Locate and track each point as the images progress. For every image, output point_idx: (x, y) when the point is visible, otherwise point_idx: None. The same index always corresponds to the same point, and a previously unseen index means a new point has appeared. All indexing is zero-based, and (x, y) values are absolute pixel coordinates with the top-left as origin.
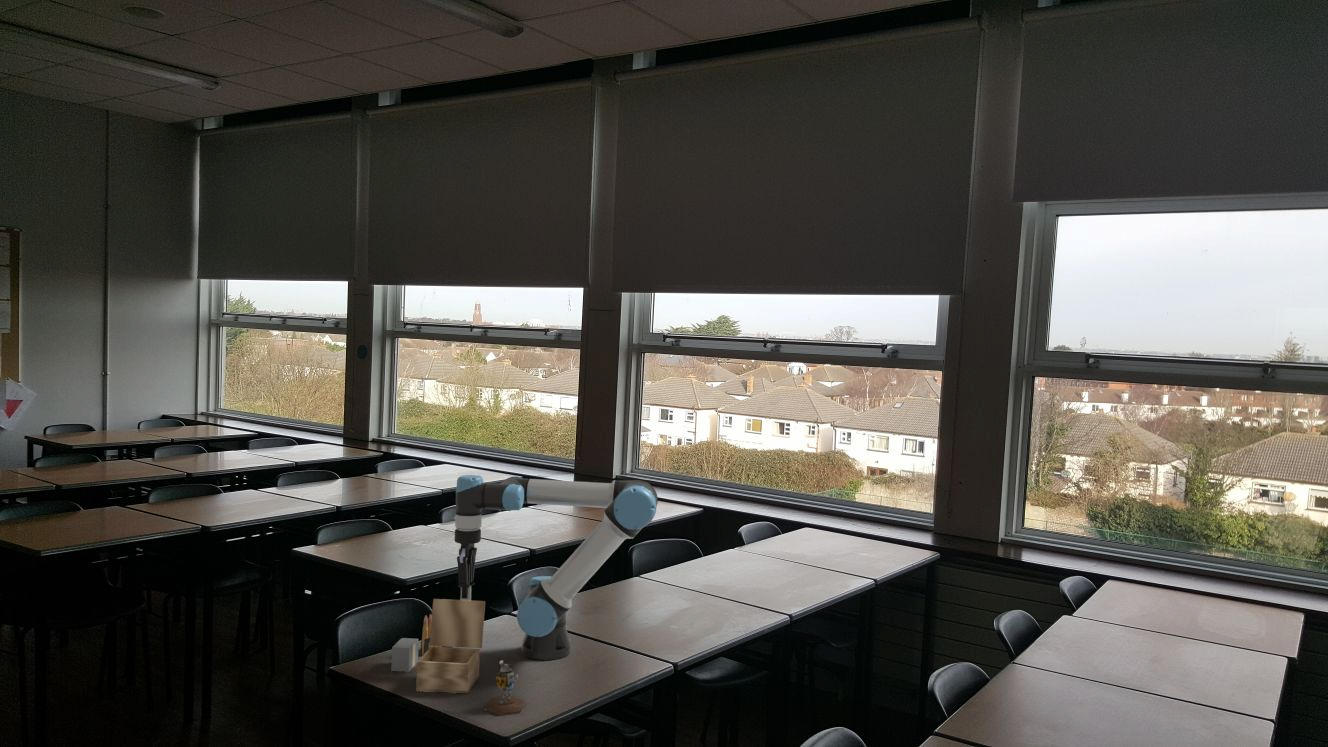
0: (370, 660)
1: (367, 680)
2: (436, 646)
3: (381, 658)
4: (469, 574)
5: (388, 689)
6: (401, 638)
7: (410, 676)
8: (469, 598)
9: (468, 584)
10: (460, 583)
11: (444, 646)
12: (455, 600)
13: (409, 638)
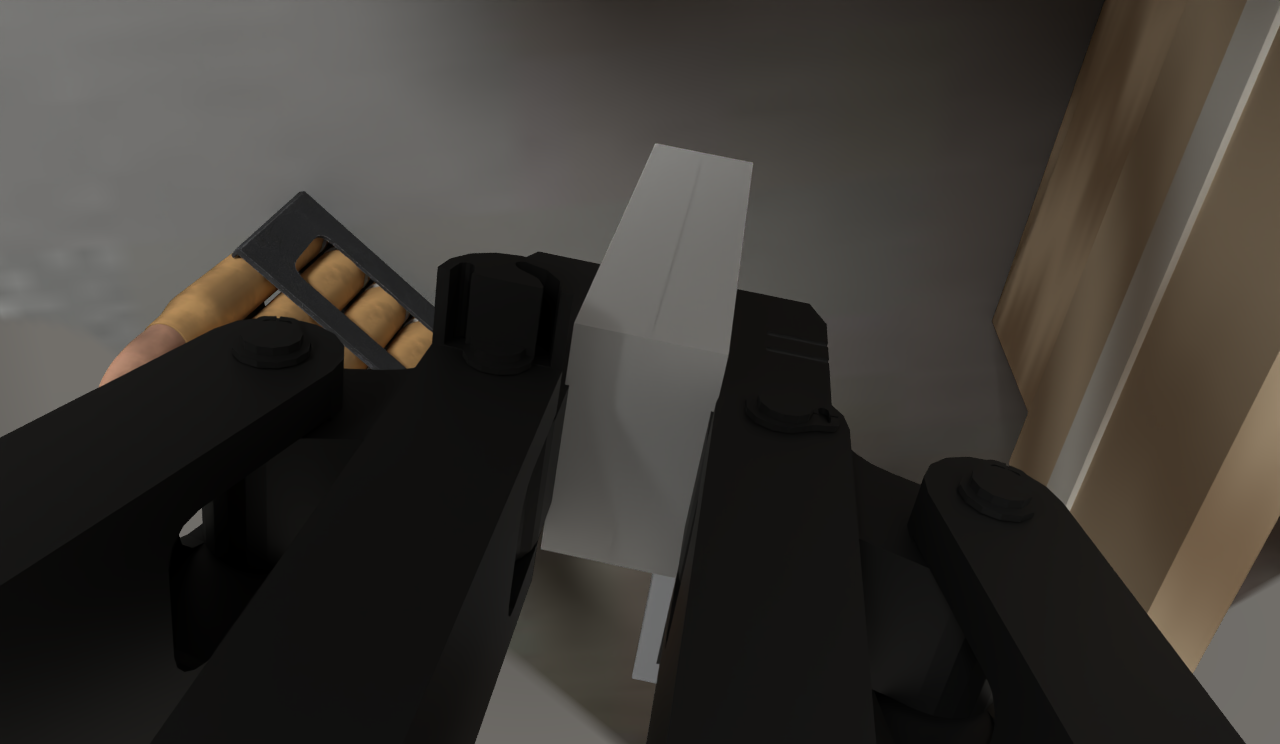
0: (634, 719)
1: None
2: (424, 337)
3: (595, 664)
4: (758, 663)
5: (1253, 581)
6: (643, 679)
7: (1002, 461)
8: (743, 236)
9: (845, 454)
10: (970, 711)
11: (364, 266)
12: (1252, 557)
13: (646, 623)
